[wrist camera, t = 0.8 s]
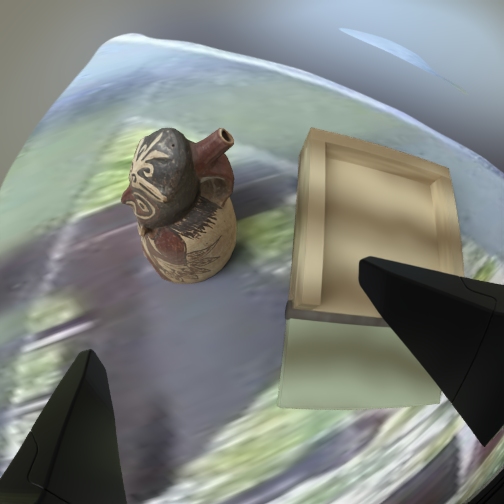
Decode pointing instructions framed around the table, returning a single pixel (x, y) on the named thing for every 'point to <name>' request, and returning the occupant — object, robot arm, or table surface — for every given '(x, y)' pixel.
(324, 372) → the shallow wooden tray
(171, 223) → the figurine
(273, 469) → the table surface
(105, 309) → the table surface
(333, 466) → the table surface
